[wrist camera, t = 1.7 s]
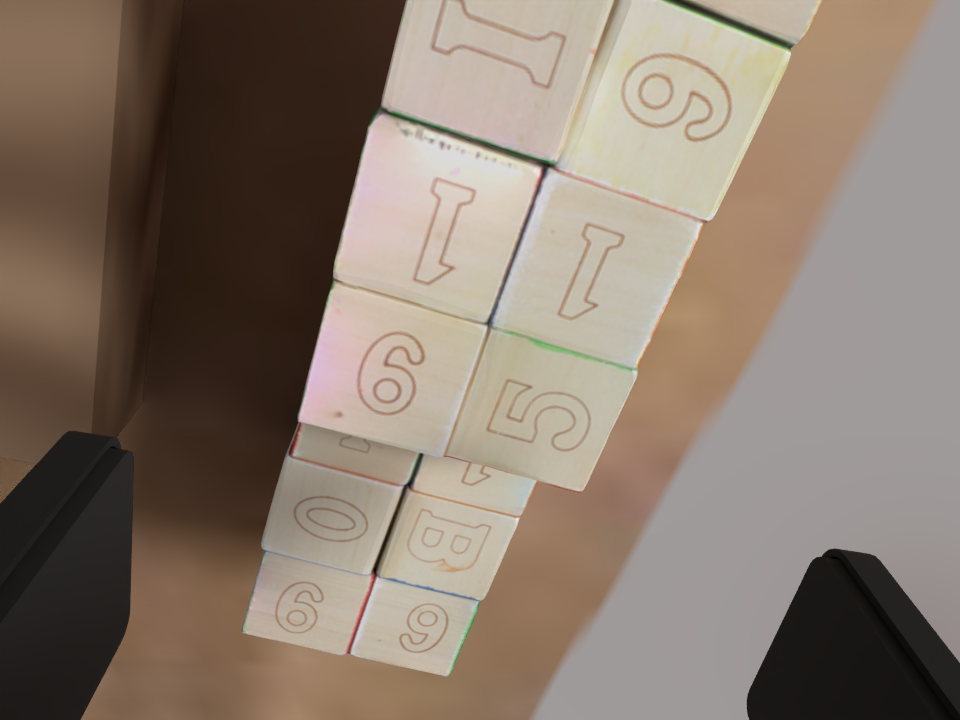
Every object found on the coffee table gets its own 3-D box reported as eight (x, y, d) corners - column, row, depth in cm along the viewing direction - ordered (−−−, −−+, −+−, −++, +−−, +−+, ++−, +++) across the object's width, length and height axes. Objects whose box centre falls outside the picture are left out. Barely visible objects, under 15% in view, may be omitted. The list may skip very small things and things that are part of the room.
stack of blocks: (448, 492, 30) (446, 781, 19) (293, 451, 29) (198, 731, 18) (684, -92, 22) (921, -175, 11) (477, -182, 21) (506, -375, 10)
